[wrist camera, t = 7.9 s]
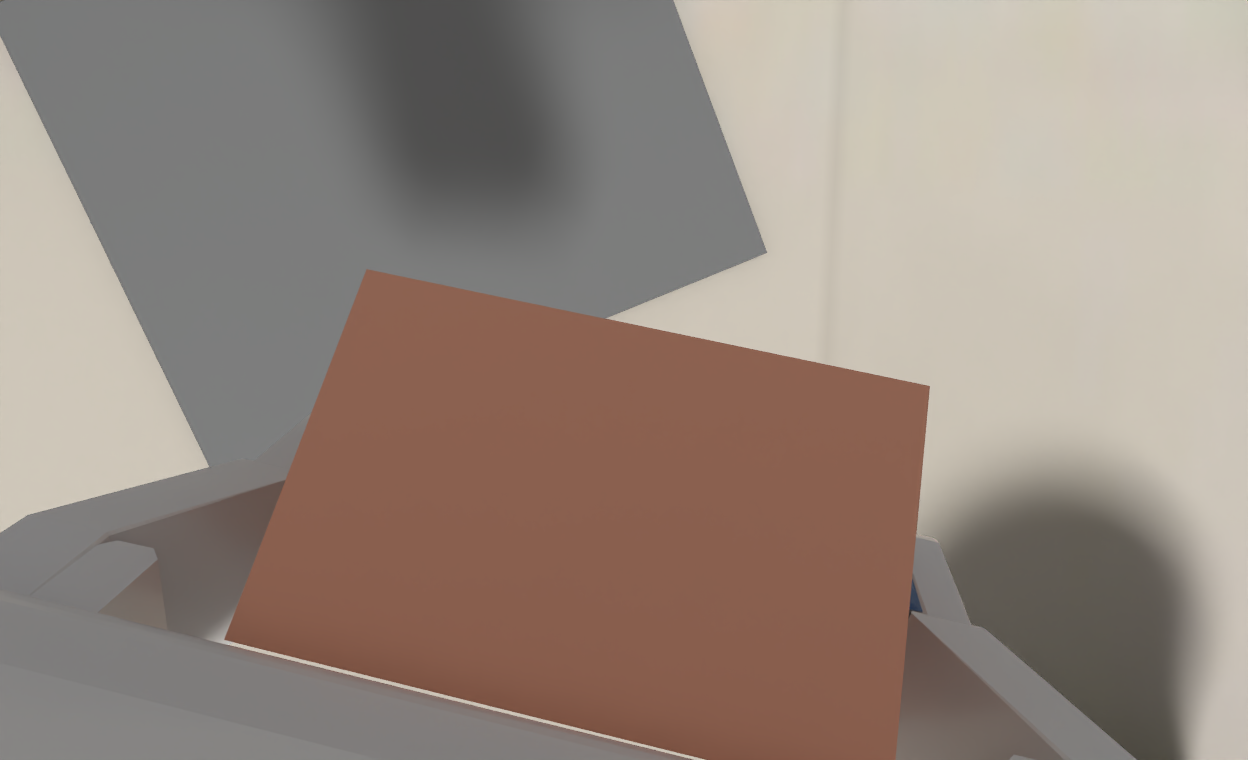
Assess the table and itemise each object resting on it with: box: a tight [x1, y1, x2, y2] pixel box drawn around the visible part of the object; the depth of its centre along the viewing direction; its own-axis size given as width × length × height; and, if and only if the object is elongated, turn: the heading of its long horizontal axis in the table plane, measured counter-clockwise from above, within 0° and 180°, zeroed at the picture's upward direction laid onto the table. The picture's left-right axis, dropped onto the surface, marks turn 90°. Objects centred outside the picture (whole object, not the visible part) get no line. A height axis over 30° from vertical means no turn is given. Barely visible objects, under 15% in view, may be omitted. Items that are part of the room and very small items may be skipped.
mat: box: [0, 0, 767, 467], centre depth 24 cm, size 20×16×1 cm
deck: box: [224, 269, 930, 760], centre depth 11 cm, size 3×5×10 cm, turn 78°
